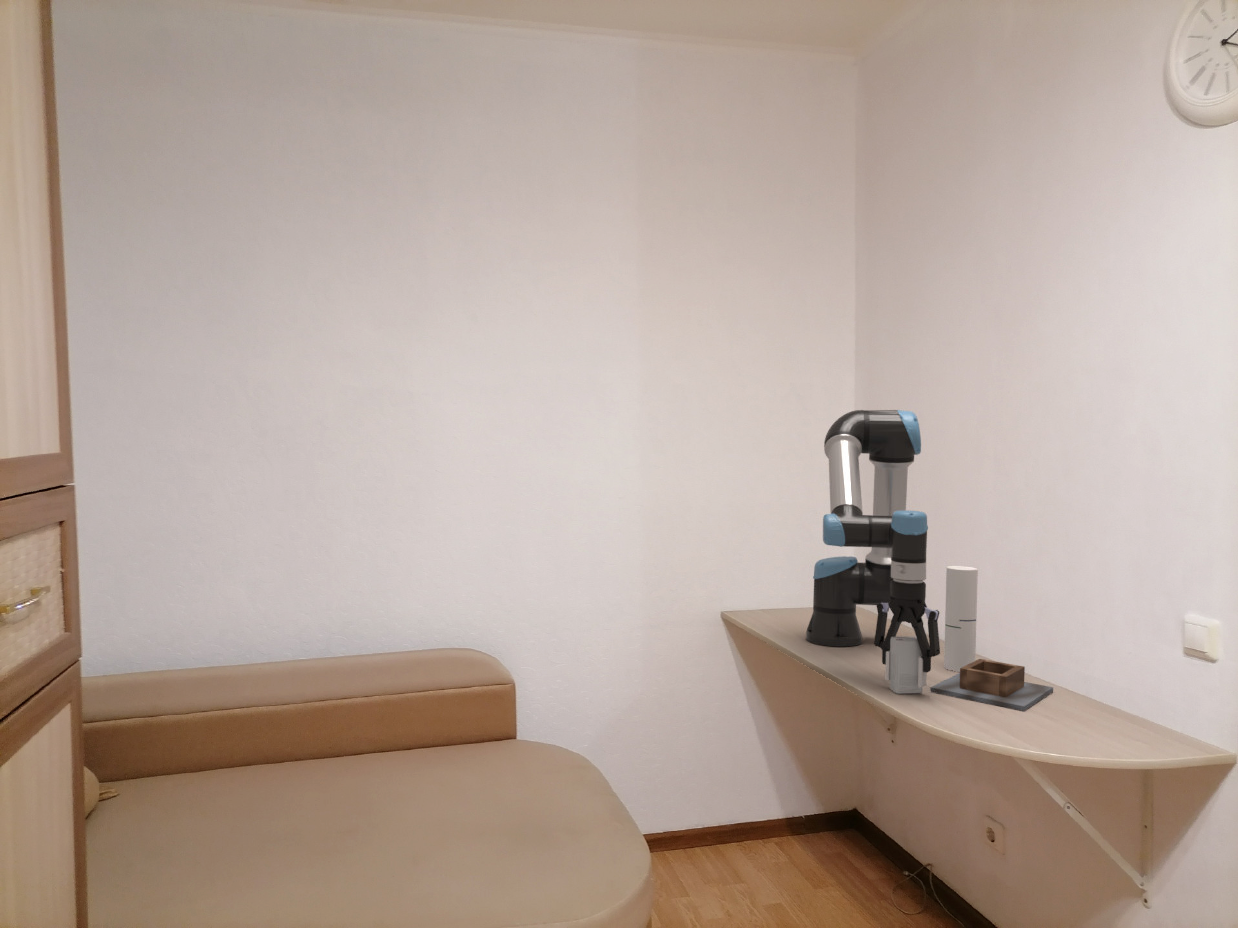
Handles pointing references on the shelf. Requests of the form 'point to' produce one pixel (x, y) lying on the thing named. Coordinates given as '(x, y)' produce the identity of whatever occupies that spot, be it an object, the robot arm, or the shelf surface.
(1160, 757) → the shelf surface
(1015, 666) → the socket
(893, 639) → the skincare box
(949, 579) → the cylindrical container
